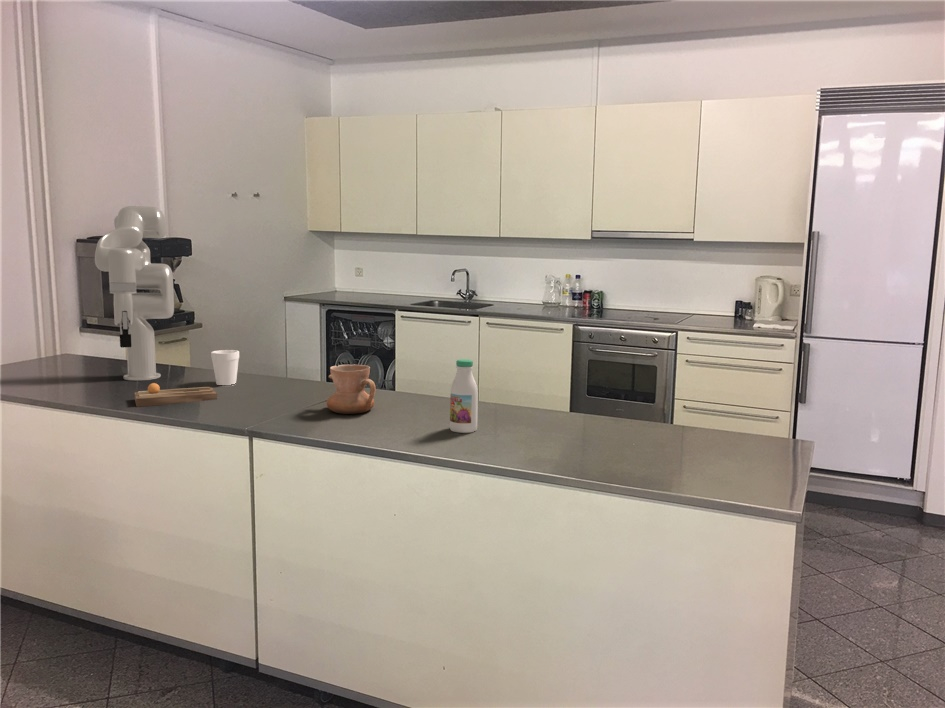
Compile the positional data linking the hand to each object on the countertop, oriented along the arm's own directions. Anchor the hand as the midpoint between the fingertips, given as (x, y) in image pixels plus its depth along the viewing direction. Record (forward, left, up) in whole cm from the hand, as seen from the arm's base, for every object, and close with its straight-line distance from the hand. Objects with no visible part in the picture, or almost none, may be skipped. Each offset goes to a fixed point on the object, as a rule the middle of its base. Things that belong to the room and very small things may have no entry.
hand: (125, 346), depth 229 cm
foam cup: (-17, +32, -19) cm, 41 cm away
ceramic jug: (+39, +61, -19) cm, 75 cm away
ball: (0, +8, -14) cm, 16 cm away
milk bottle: (+73, +83, -19) cm, 112 cm away
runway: (0, +14, -18) cm, 23 cm away
